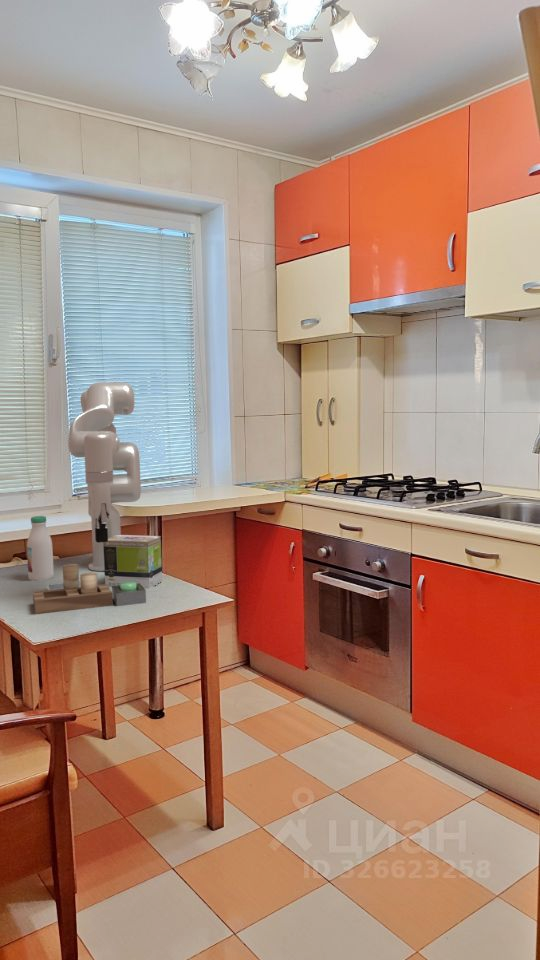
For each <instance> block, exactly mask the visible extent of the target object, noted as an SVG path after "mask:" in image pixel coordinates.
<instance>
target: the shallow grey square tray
mask: <svg viewBox="0 0 540 960" xmlns="http://www.w3.org/2000/svg"><path fill="white" fill-rule="evenodd" d="M79 587H81V580H79ZM55 589H64V587H63V582H57V583H50V584H49V583H48V584H46V590H55Z"/></svg>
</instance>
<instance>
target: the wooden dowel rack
mask: <svg viewBox="0 0 540 960" xmlns="http://www.w3.org/2000/svg"><path fill="white" fill-rule="evenodd" d="M32 598H33V599H32V601H33V607H34V613H35V615H40V614H49V613H58V612H59V613H60V612H67V611H68V612H69V611H75V610H85V609H93V608H94V609H95V608H103V607H111V606H113V605H114V604H113V603H114V602H113V599H112V589H111V588H110V586H107V584H105V583H104V584H97V593H88V594H81V587H74V588H65V589H55V590H47V589H46V590H38V591H37V590H36V591H33V592H32Z"/></svg>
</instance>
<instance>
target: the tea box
mask: <svg viewBox="0 0 540 960" xmlns="http://www.w3.org/2000/svg"><path fill="white" fill-rule="evenodd" d="M161 537H162V536H161V535H141V534H140V535H139V534H137V535H135V534H132V535H131V534H121V535H116V536H113V537H111V538H108V541H107V542H103V548H104V571H103V572H104V584H107V586H108V587H112V586H120V584H121V583H123V582H136V584H139V583H140V584H141V585H142V587H143V588H144V589H151V588H153V586H154V587H156V586H157V585H159V584H161V583H162V582H163V564H162V562H163V561H162V560H163V559H162V539H161ZM160 582H161V583H160ZM158 583H159V584H158ZM155 585H156V586H155Z"/></svg>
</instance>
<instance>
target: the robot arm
mask: <svg viewBox="0 0 540 960" xmlns="http://www.w3.org/2000/svg"><path fill="white" fill-rule="evenodd" d="M80 406H81V410H82V412H81V413H80V414H79V415H77V416H76V417H75V418H74V419H73V420H72V421H71V424H70V425H69V426H70V427H69V431H68V432H69V433H68V440H67V441H68V450H69V454H71V455H72V456H73V457H75V458H84V468H85V469H84V471H85V473H84V474H85V484H87V485H86V486H87V489H86V490H87V495H88V496H87V497H88V498H87V499H88V503H87V505H88V508H87V509H88V511H87V512H88V516H89V517H90V518H91V541H92V543H91V544H92V562H91V563H89V564H88V569H89V570H90V571H95V572H104V548H103V542H107V541H108V538H111V537H113V536H116V535H122V534H121V533H122V531H121V530H122V529H121V527H122V526H121V515H120V513H119V511H118V510H117V508H116V507H115V506H114V505H113V504H117V503H133V502H137V501H139V500H140V498H141V495H142V494H141V493H142V488H141V487H142V486H141V485H142V484H141V481H142V480H141V464H140V462H141V461H140V459H141V458H140V452H139V448H138V446H137V445H136V443H134V442H130V441H129V442H120V437H119V436H118V435H117V428H116V426H115V424H114V423H113V422H114V420H115V416H120V415H122V416H125V415H126V416H127V415H130V414H133V412H134V410H135V393H134V389H133V387H132V386H131V384H129V383H127V382H123V381H122V382H121V381H120V382H119V381H117V382H116V381H115V382H108V381H107V382H106V381H105V382H95V383H93V384H91V385H90V386H89V387H88V388H87V390H85V391H84V392H82V393H81V394H80ZM114 471H124V472H126V473H125V474H124V473H121V474H120V473H119V474H115V473H114Z"/></svg>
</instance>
